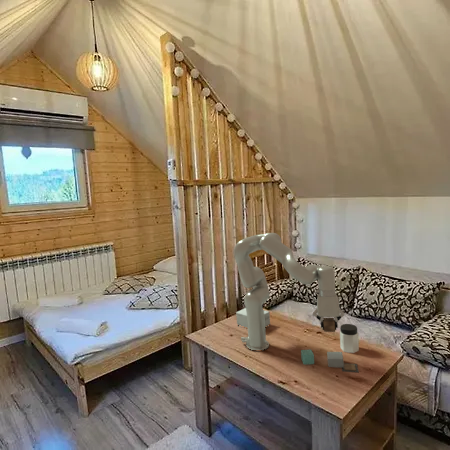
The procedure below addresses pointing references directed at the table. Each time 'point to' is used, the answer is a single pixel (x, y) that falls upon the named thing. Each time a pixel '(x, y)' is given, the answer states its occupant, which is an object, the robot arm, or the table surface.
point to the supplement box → (242, 317)
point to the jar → (349, 338)
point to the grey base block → (335, 359)
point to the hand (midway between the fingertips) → (329, 328)
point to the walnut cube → (329, 324)
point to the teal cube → (307, 357)
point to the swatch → (350, 368)
